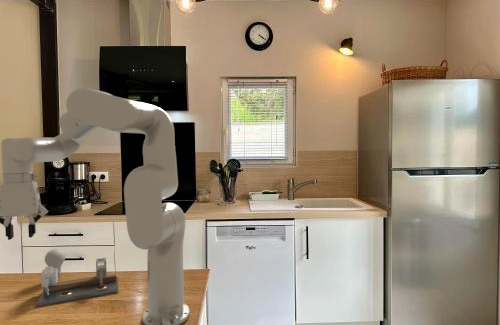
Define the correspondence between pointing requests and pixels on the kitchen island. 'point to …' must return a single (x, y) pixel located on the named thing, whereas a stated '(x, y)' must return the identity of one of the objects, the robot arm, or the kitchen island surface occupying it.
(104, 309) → the kitchen island surface
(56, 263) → the lightbulb
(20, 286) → the kitchen island surface
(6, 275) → the kitchen island surface
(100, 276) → the frame
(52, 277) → the sliding leg
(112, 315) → the kitchen island surface
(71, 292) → the bolt plate
